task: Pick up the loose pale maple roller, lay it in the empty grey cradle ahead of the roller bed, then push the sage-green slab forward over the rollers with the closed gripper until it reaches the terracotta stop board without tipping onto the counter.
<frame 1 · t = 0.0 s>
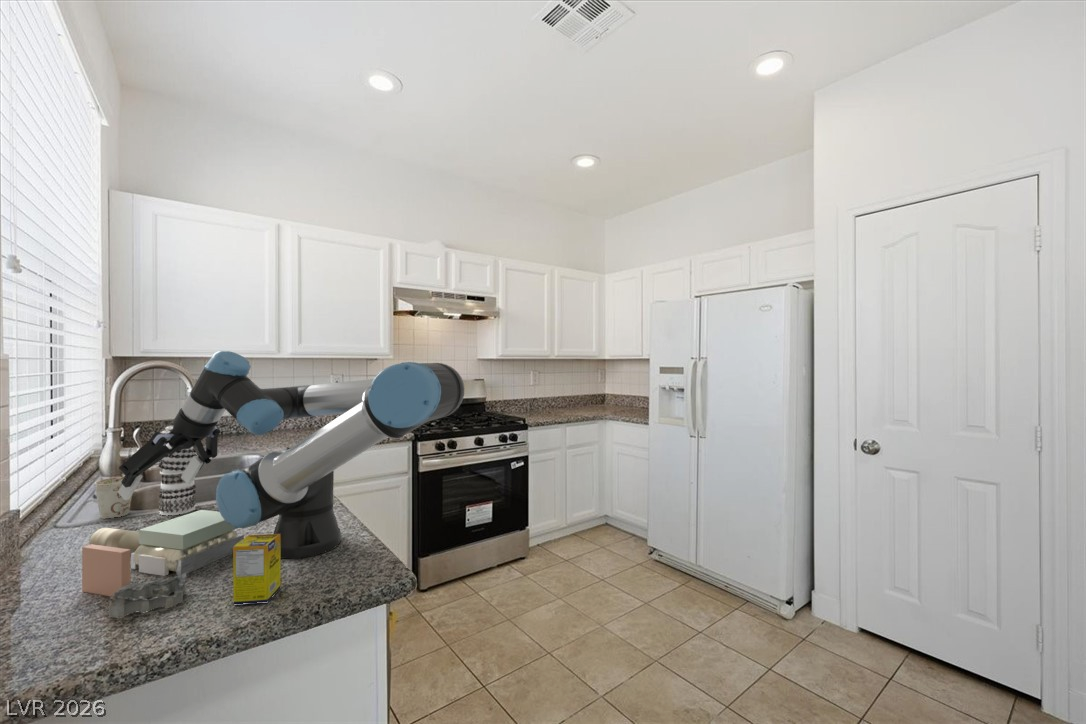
hand: (156, 487, 107), 15 cm above the countertop, tool tilted 35°, fingers open, 13 cm apart
supplement box: (257, 598, 88), on the countertop
stop board: (106, 592, 90), on the countertop
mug: (112, 514, 135), on the countertop
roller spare: (116, 551, 109), on the countertop
decorative candle: (177, 511, 138), on the countertop
rock: (256, 503, 147), on the countertop
egg carton: (149, 606, 86), on the countertop
roller bed: (188, 558, 105), on the countertop
slab: (192, 534, 106), point 5 cm above the countertop, touching roller bed
roller cradle: (134, 580, 95), on the countertop
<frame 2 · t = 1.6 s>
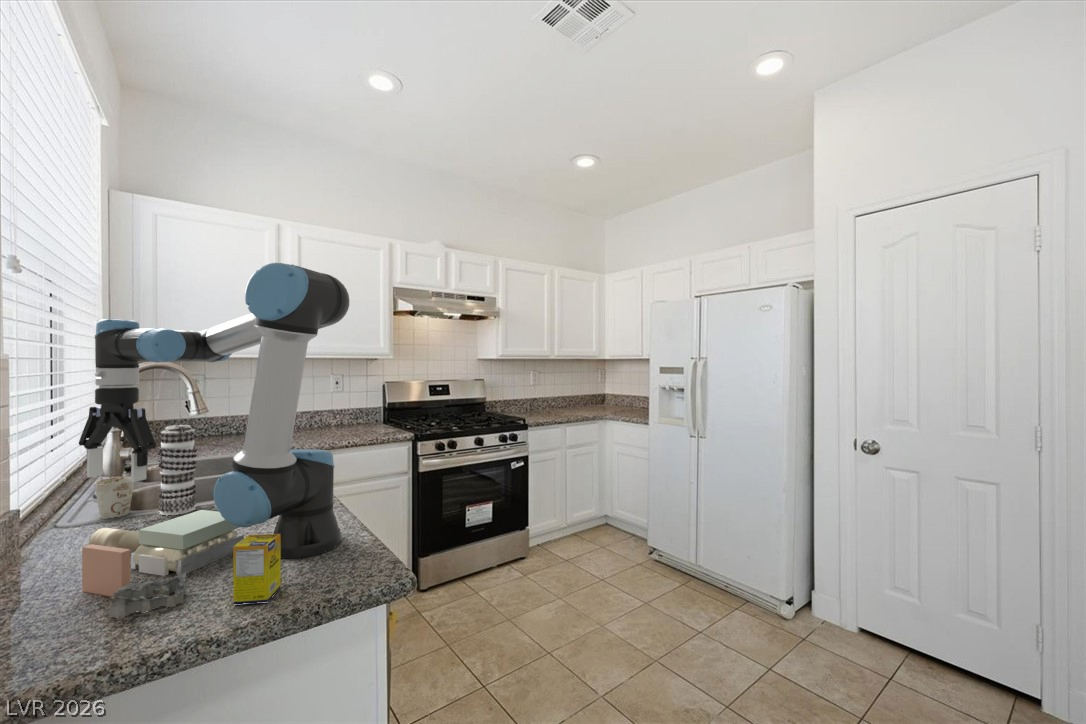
hand: (116, 478, 109), 17 cm above the countertop, tool pointing down, fingers open, 13 cm apart
nothing on the countertop moved.
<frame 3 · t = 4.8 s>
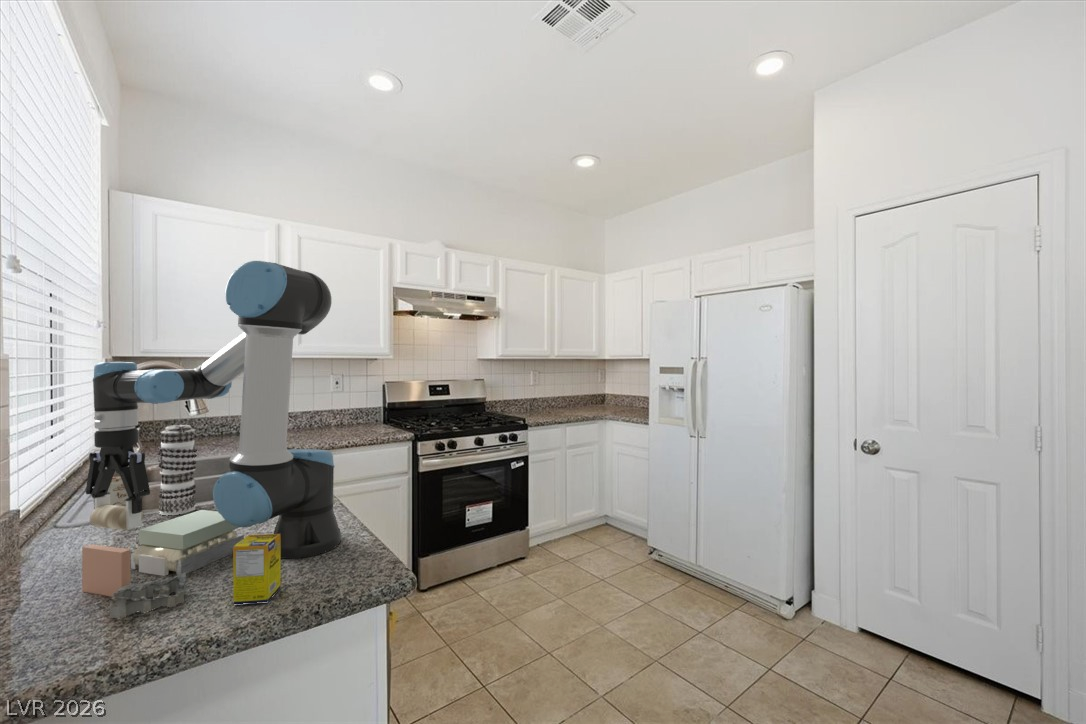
hand: (118, 525, 109), 6 cm above the countertop, tool pointing down, fingers closed on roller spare, 9 cm apart
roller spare: (118, 527, 109), point 5 cm above the countertop, tilted 6°, touching gripper
everything else where it was.
when the fingers open (0 cm above the countertop, at t = 9.9 s): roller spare stays where it is, on the countertop.
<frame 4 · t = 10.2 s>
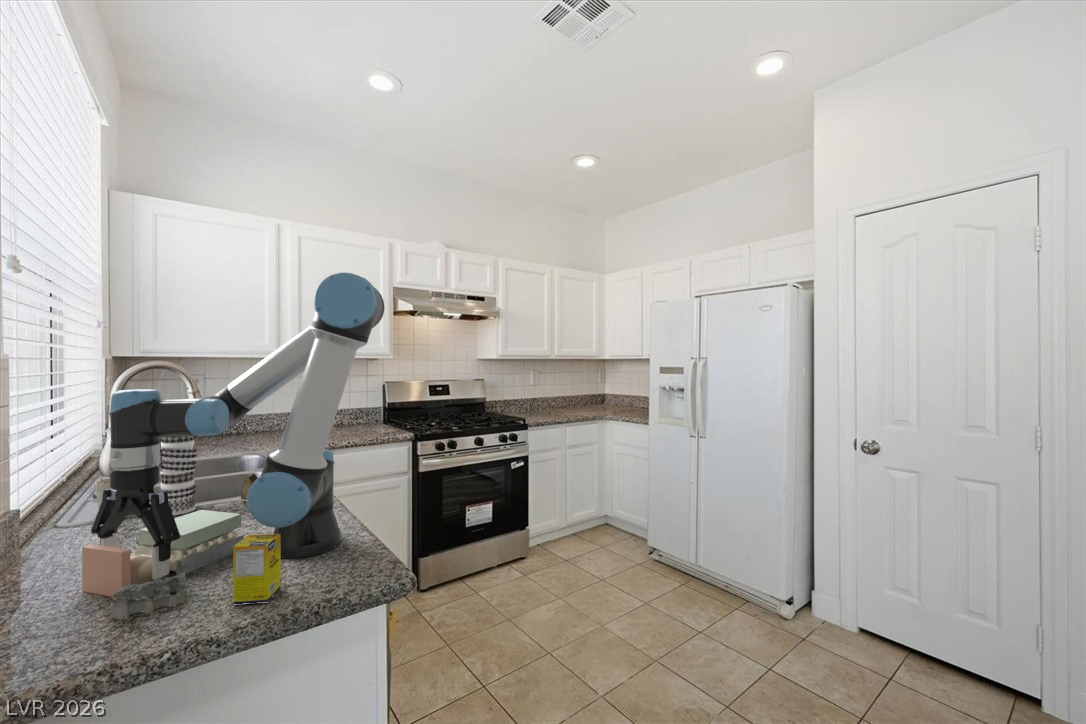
hand: (134, 572, 95), 2 cm above the countertop, tool pointing down, fingers open, 13 cm apart
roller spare: (134, 581, 94), on the countertop
everything else where it was.
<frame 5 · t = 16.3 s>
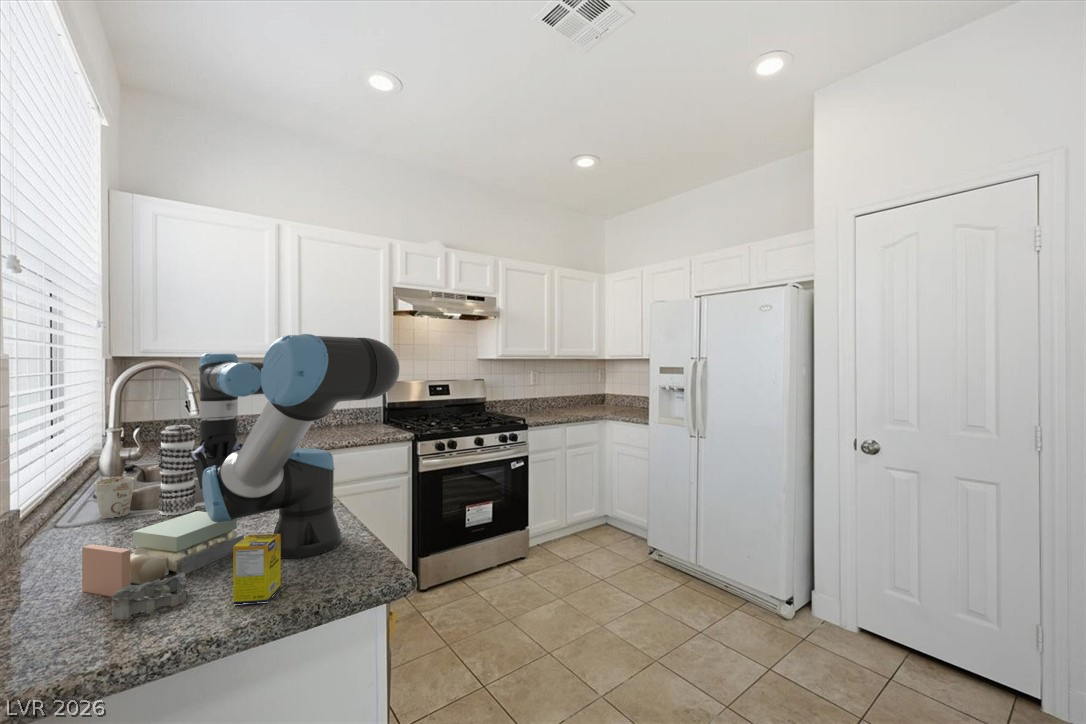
hand: (218, 516, 113), 7 cm above the countertop, tool pointing down, fingers closed
slab: (187, 536, 105), point 5 cm above the countertop, touching gripper, roller bed
everything else where it was.
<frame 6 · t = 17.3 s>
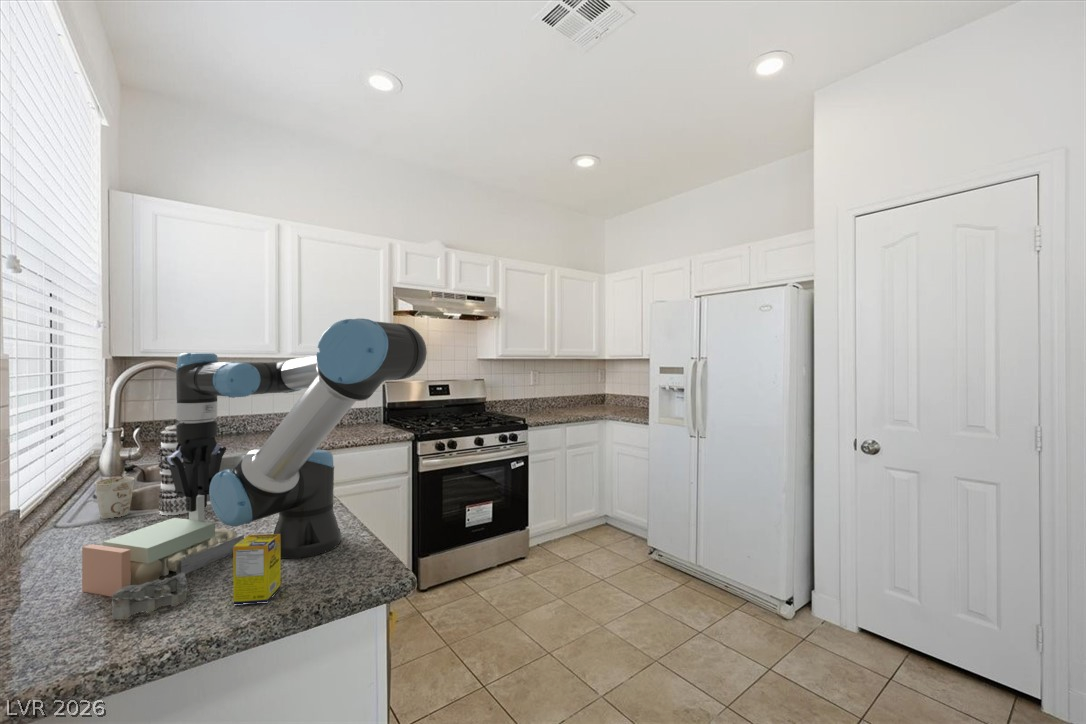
hand: (196, 523, 107), 7 cm above the countertop, tool pointing down, fingers closed
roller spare: (134, 581, 94), on the countertop, tilted 11°, touching slab
slab: (162, 545, 100), point 5 cm above the countertop, touching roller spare
everything else where it was.
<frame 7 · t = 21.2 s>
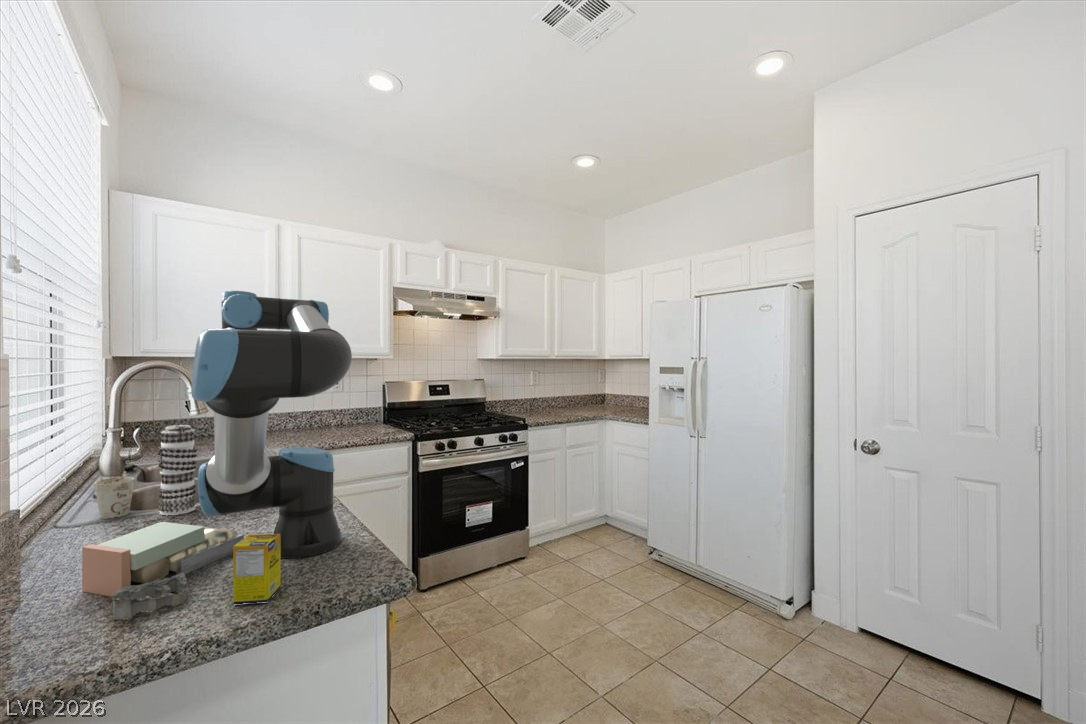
hand: (239, 448, 118), 22 cm above the countertop, tool pointing down, fingers closed
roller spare: (149, 571, 97), point 1 cm above the countertop, tilted 51°, touching slab
slab: (149, 551, 97), point 5 cm above the countertop, touching roller bed, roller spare
everything else where it was.
at the end: slab 0.1 cm from the target spot, point 4.8 cm above the countertop; slab tilted 4°; slab touching roller bed, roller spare, stop board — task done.
